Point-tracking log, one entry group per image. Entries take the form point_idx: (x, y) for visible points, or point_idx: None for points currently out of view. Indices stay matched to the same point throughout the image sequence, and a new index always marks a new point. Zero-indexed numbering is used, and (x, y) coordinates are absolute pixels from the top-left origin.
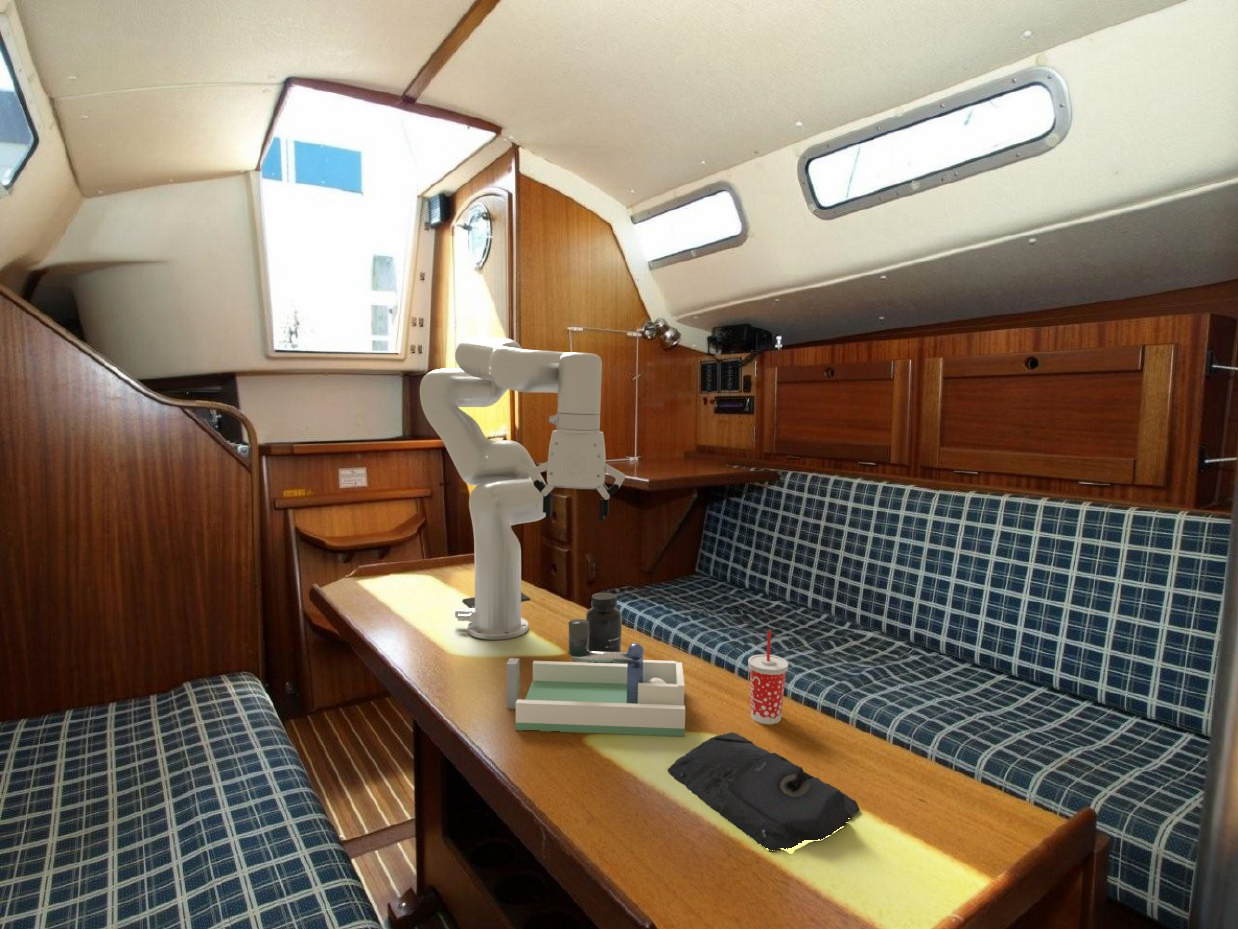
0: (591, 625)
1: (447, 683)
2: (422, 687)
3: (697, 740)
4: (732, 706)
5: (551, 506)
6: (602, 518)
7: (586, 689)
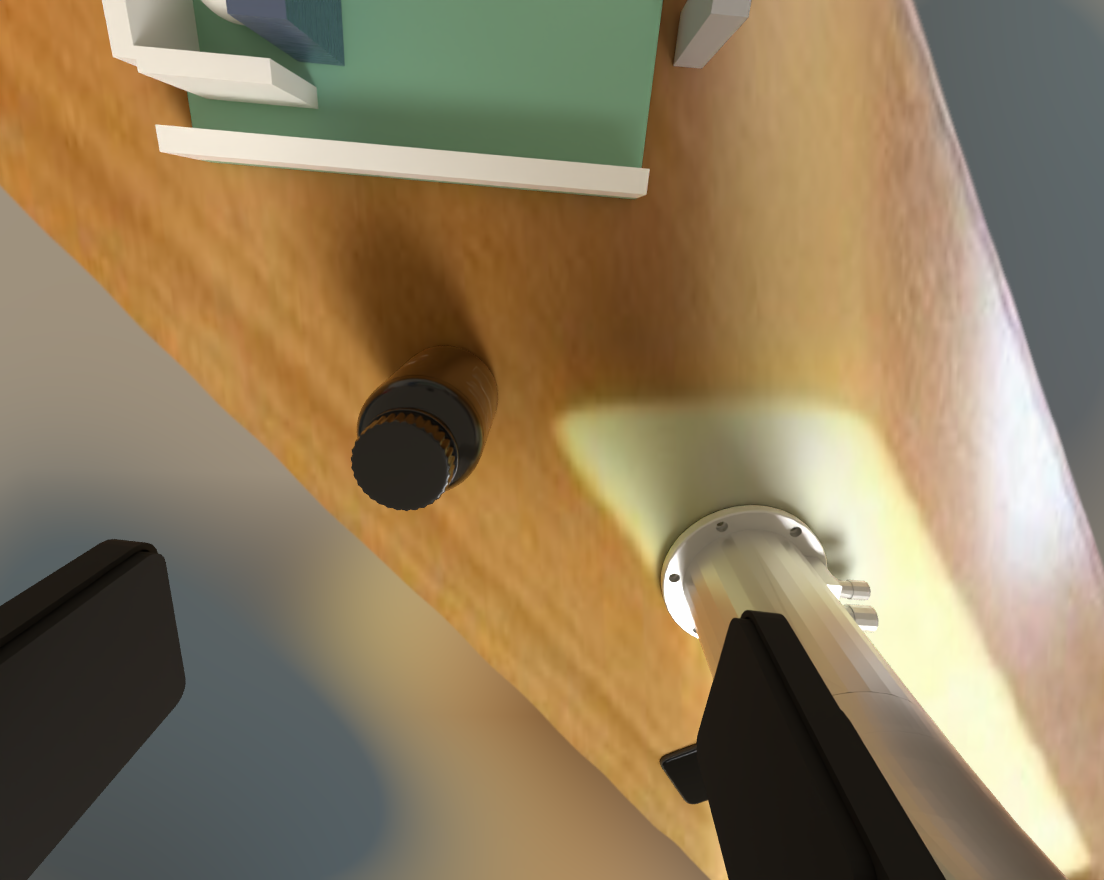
0: (463, 387)
1: (879, 208)
2: (951, 179)
3: None
4: (40, 32)
5: (747, 793)
6: (94, 552)
7: (476, 104)
